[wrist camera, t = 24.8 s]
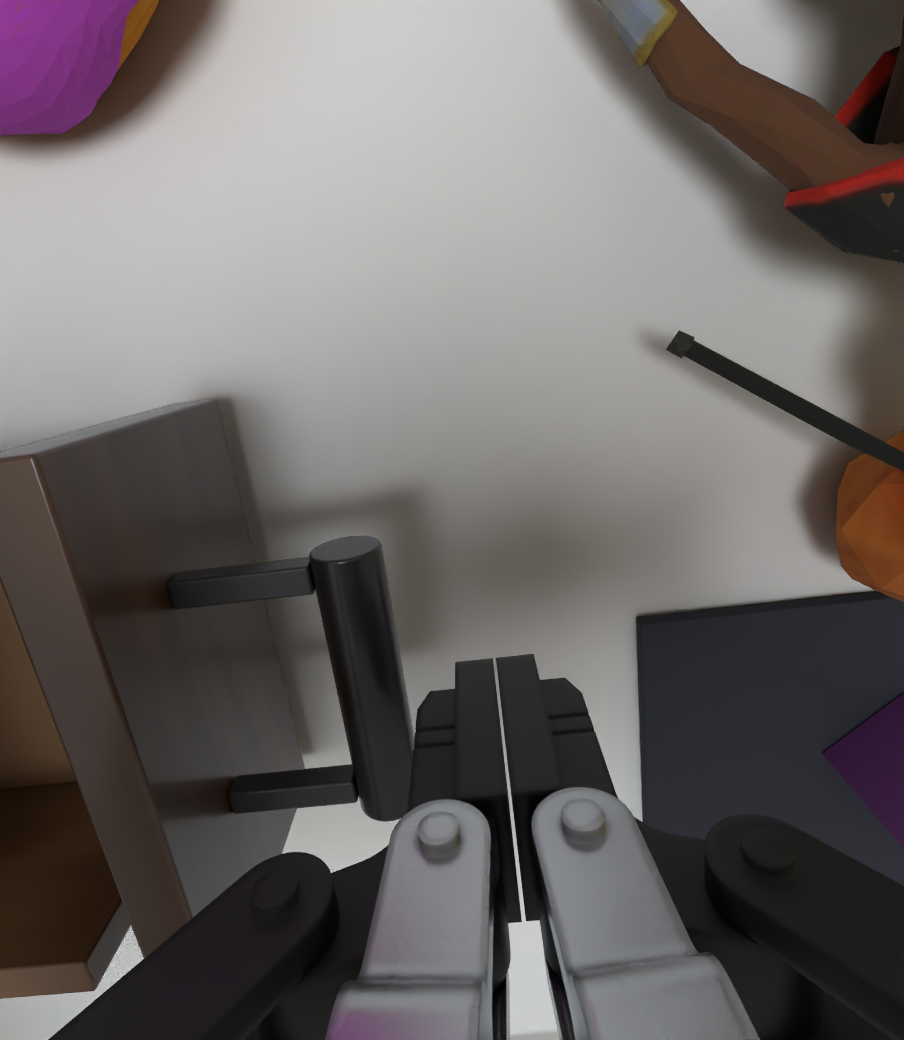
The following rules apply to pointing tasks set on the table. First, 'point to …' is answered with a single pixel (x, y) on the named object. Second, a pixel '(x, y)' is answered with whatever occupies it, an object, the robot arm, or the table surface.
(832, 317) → the table surface
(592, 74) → the table surface
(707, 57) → the figurine
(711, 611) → the mat
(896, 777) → the purple rectangular block
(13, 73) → the donut
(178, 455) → the drawer
